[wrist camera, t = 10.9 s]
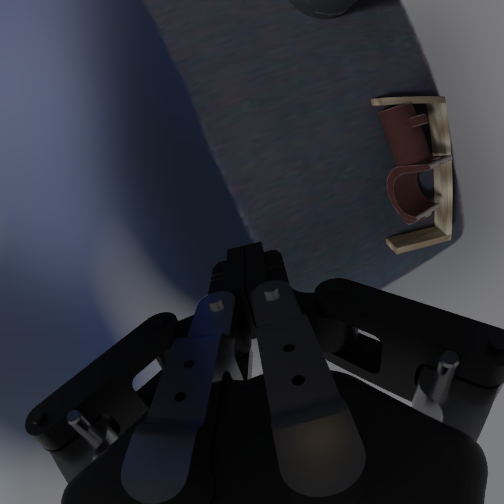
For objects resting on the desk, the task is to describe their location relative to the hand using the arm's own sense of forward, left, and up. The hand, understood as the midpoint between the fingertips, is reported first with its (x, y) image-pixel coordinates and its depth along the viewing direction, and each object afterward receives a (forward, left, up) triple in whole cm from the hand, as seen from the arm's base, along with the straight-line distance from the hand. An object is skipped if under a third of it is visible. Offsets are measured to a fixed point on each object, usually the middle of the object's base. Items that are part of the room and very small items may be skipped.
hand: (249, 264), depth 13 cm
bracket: (+4, +23, -29) cm, 38 cm away
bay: (+5, +24, -29) cm, 38 cm away
